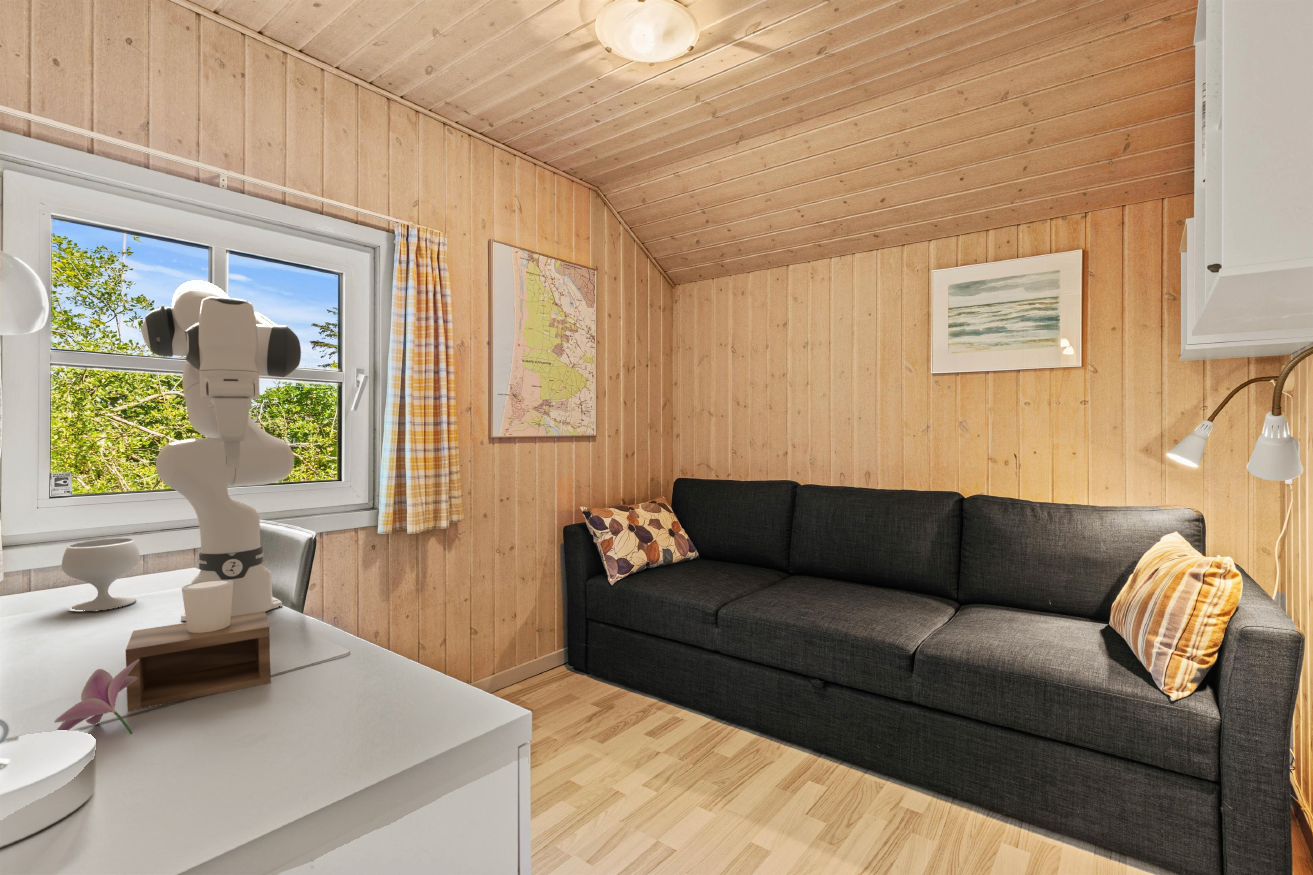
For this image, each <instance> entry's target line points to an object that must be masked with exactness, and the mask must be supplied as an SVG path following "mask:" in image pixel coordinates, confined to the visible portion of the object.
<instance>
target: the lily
mask: <svg viewBox="0 0 1313 875" xmlns="http://www.w3.org/2000/svg"><path fill="white" fill-rule="evenodd" d="M139 660H140V659H138V660H136V661H135V662H133V663H132V664H130V665H129V666H127V667H126V666H125V668H123V669H122V670H121V671H120V672H119V673H117V675H115V676H114V677H113V675H112V674H111V673H110V672H108V671H107V670H105V669H103V668H98V669H96V670H95V671H94V672H93V673H92V674H91V675H90V676H89V678H88V680H87V681H86V683H85V685H84V687H83V689H82V691H81V695H80V701H79V702H78V703H76V704H75V705H73V706H72V707H70V708H69V709H67V710H66V711H64V712H63V713H61V715H59V717H57V718H56V719H55V720H54V723H61V722H62V723H61V724H60V726H58V727H57V728H56V730H68V731H70V729H72V728H74V727H75V726H76V725H78V724H80V723H81V722H83V721H85V720H86V721H85V722H86V723H87V724H89V725H93V726H95V725H94V724H96V723H98V722H99V723H100V722H101V721H102V720H101V719H102V718H103V716H104V715H105V714H108V713H112V714H113V715H115V716H116V717H117V719H118V720H120V722H121V723H122V725H123V726H124V727H125V728H126V730H127V732H128V734H130V735H132V734H133V733H134V732H133V731H132V730H131V727H130V726H129V725H128V724H127V723H126V721H125V719H123V717H121V715H120V714H119V713H118V712H117V710H116V702H117V699H118V695H119V693H120V692H121V691H122V690H124V689H127V686H129V685H130V684H132V683H133V682H135V681H136V680H137V677H135V676H127V675H128V674H129V673H130V671H131V670H132V669H133V668H134V666H135V665H136V664H137V663H138V661H139ZM99 723H98V724H99Z"/></svg>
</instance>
